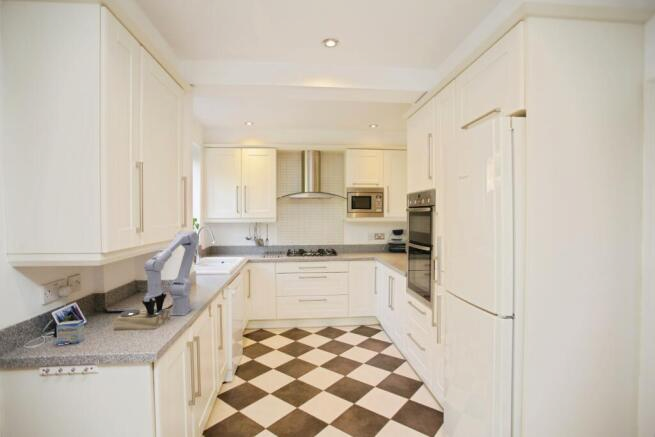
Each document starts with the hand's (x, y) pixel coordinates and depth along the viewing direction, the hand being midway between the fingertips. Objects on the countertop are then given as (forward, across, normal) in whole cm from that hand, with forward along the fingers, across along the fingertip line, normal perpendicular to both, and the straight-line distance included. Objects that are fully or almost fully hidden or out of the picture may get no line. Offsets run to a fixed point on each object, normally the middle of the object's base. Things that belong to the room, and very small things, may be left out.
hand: (155, 312), depth 147 cm
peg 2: (+5, 0, 0) cm, 5 cm away
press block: (+6, 0, -6) cm, 8 cm away
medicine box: (+6, +19, -25) cm, 32 cm away
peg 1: (+5, 0, -12) cm, 13 cm away
